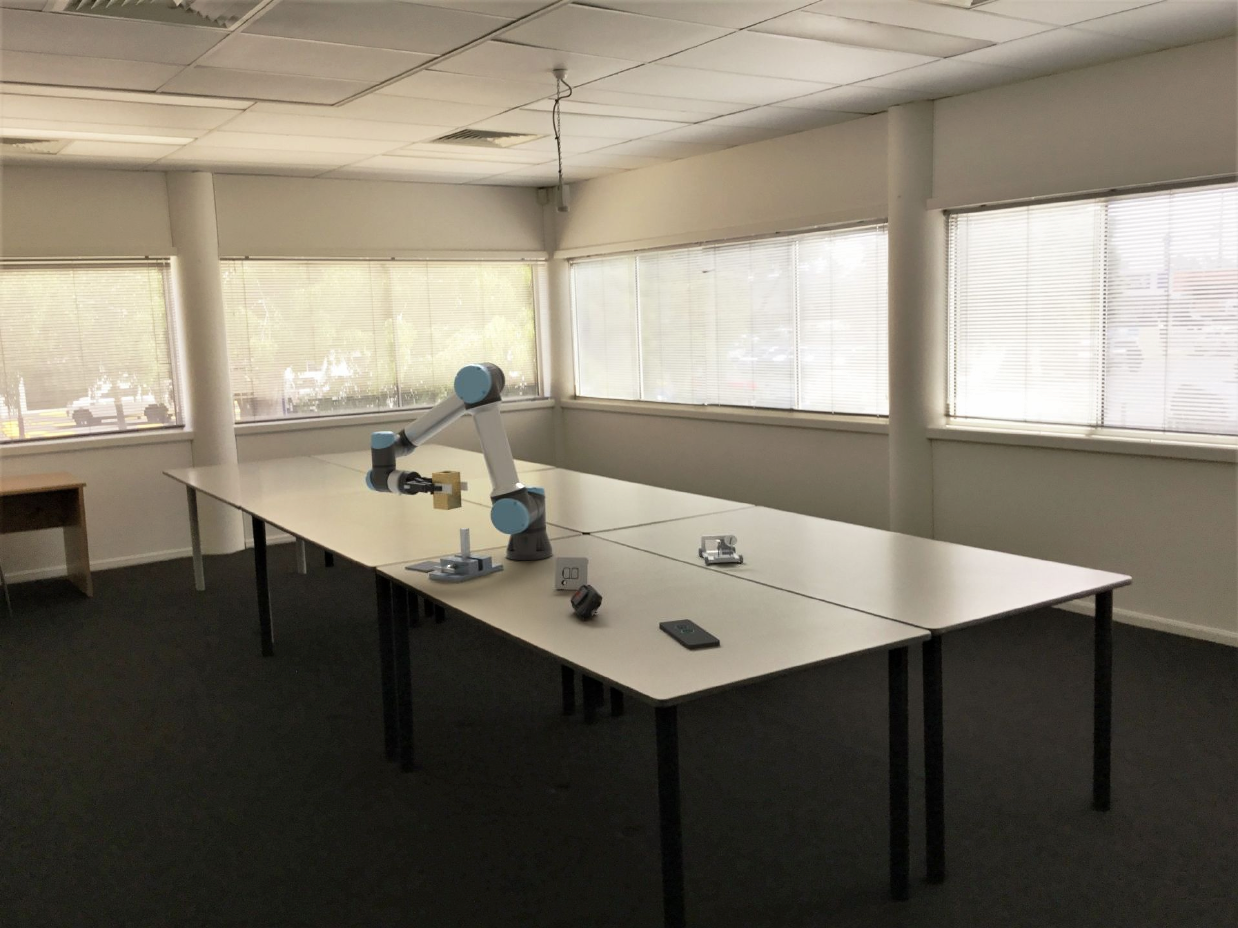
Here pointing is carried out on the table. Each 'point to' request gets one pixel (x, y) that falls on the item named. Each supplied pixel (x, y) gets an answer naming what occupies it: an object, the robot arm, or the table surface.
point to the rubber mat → (424, 566)
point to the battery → (586, 601)
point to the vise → (464, 563)
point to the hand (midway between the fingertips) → (458, 487)
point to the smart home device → (689, 634)
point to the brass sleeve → (444, 499)
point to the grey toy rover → (719, 549)
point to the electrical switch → (571, 572)
